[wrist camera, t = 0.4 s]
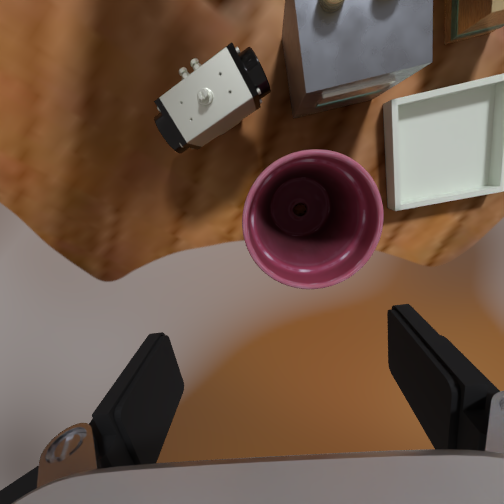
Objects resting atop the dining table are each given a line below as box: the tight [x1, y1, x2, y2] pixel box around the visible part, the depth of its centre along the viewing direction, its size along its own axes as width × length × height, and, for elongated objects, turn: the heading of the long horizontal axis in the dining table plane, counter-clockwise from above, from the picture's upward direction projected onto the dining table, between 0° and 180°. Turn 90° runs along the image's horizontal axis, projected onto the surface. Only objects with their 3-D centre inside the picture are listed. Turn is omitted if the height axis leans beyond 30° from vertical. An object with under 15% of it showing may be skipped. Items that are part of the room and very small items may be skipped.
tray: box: [383, 74, 504, 211], centre depth 33 cm, size 13×13×2 cm
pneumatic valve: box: [154, 43, 271, 153], centre depth 29 cm, size 6×12×12 cm, turn 121°
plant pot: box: [242, 149, 384, 289], centre depth 32 cm, size 14×14×13 cm
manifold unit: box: [282, 0, 433, 118], centre depth 25 cm, size 9×10×15 cm
